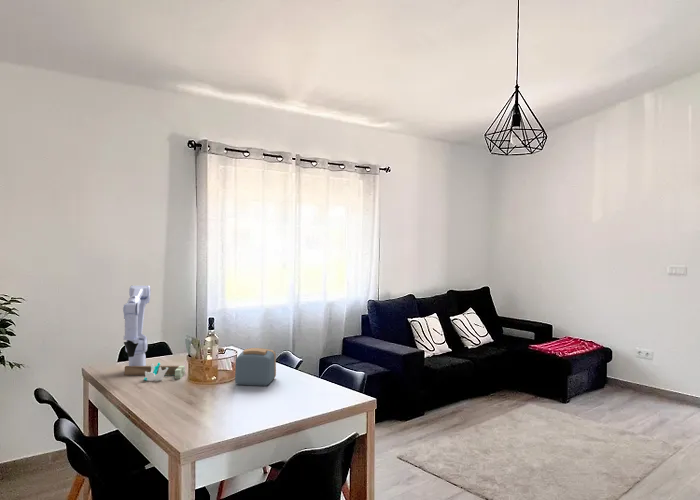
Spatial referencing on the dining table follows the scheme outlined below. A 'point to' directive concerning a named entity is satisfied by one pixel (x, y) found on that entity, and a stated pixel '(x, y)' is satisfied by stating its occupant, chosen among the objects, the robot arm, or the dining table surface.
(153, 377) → the jawbone
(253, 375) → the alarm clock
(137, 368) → the cleat board
